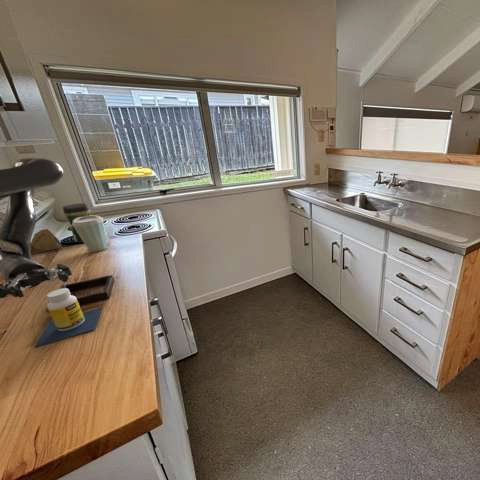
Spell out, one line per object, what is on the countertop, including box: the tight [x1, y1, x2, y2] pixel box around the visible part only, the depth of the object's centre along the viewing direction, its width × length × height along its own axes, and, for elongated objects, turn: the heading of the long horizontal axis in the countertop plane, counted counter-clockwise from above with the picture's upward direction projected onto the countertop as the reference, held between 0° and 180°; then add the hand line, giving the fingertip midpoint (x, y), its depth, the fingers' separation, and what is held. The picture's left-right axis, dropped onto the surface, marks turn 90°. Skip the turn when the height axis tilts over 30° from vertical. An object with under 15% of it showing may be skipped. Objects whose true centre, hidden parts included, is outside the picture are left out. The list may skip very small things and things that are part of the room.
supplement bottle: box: [46, 288, 85, 331], centre depth 65 cm, size 5×5×10 cm
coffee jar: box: [62, 202, 91, 244], centre depth 126 cm, size 10×8×19 cm
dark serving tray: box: [59, 274, 115, 307], centre depth 80 cm, size 13×13×2 cm
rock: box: [30, 228, 63, 255], centre depth 117 cm, size 11×9×10 cm
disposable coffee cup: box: [72, 214, 108, 253], centre depth 115 cm, size 11×11×15 cm
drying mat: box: [34, 307, 103, 348], centre depth 67 cm, size 11×11×1 cm
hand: (43, 285), depth 67 cm, fingers open, 8 cm apart
